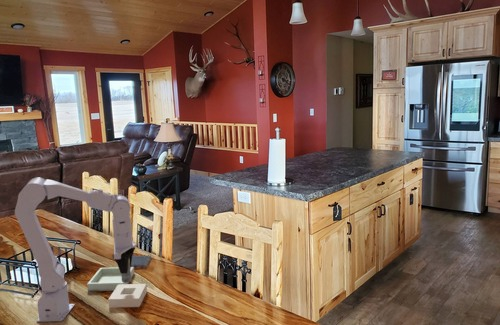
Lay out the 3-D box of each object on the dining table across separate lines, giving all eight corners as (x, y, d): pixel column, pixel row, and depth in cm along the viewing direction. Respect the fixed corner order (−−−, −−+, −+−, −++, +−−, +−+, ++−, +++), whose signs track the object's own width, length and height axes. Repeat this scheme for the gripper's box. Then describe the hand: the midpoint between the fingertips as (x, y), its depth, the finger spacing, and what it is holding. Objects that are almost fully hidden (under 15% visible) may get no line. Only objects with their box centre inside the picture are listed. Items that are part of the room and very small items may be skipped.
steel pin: (129, 282, 130) (128, 261, 129) (120, 282, 130) (119, 261, 129) (132, 278, 133) (130, 257, 132) (123, 278, 133) (121, 257, 132)
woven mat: (120, 270, 156) (120, 265, 156) (128, 259, 166) (128, 254, 166) (146, 270, 156) (146, 265, 156) (152, 258, 166) (152, 254, 166)
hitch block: (139, 306, 128) (138, 298, 127) (109, 307, 128) (108, 299, 127) (146, 291, 138) (146, 283, 137) (118, 292, 138) (118, 284, 137)
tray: (124, 290, 139) (123, 282, 138) (87, 291, 139) (87, 283, 138) (134, 273, 152) (133, 266, 151) (101, 274, 152) (100, 267, 151)
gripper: (128, 240, 122) (131, 280, 124) (140, 224, 136) (143, 261, 138) (105, 240, 122) (109, 280, 124) (120, 225, 136) (123, 261, 138)
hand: (125, 270), depth 131 cm, fingers closed on steel pin, 3 cm apart
